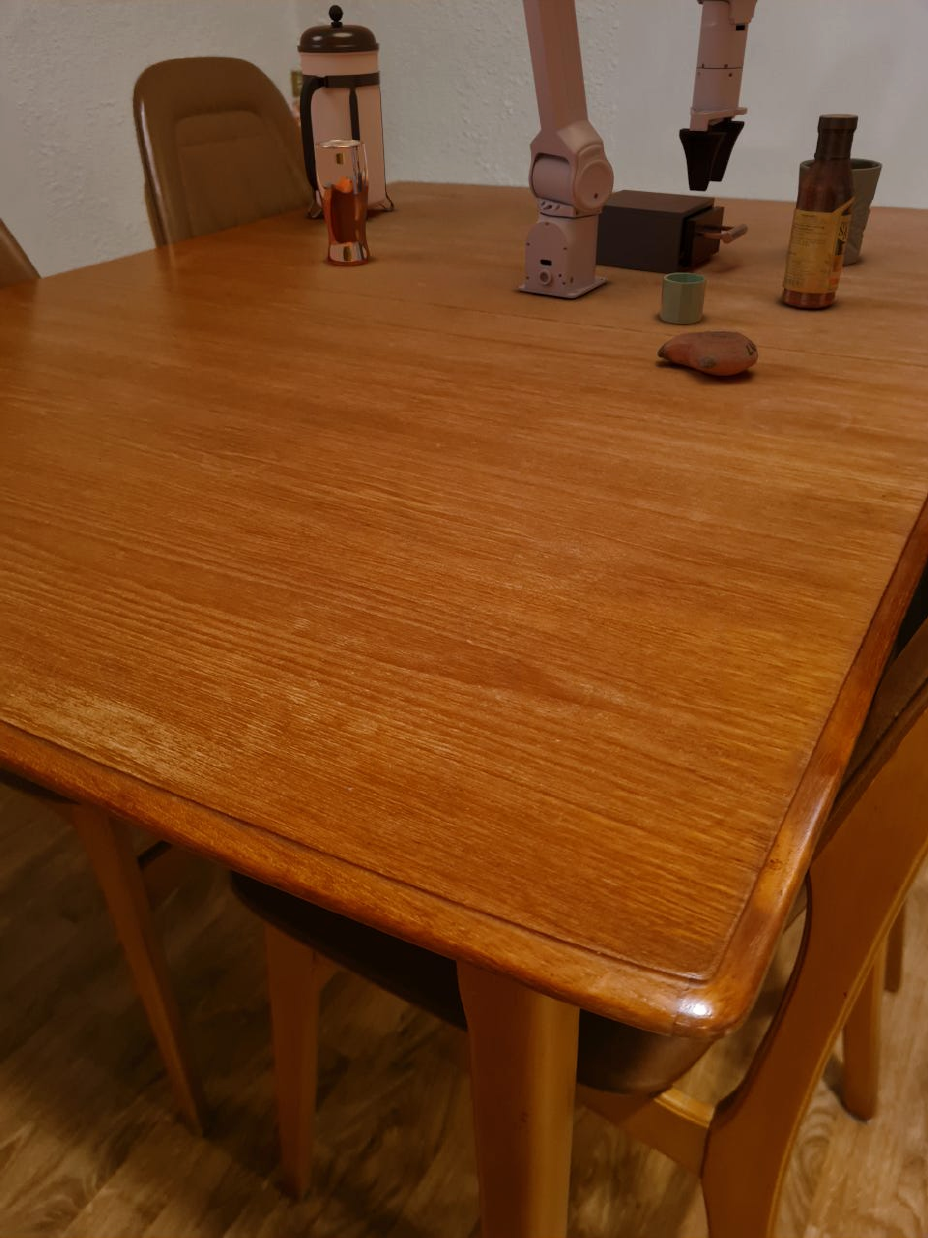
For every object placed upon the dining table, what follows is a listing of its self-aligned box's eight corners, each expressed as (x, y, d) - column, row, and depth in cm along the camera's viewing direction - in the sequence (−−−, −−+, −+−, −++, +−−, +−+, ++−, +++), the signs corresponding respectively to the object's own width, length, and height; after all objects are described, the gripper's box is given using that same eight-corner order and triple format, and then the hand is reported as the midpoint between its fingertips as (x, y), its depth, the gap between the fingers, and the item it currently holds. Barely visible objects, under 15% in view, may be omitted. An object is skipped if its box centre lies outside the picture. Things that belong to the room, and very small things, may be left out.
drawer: (749, 255, 130) (755, 209, 127) (722, 271, 123) (728, 223, 120) (635, 241, 138) (639, 198, 134) (603, 256, 130) (606, 211, 127)
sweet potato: (717, 359, 100) (649, 370, 97) (719, 319, 98) (650, 329, 95) (770, 375, 92) (698, 387, 90) (773, 332, 90) (700, 343, 88)
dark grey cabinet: (708, 255, 134) (715, 197, 129) (675, 274, 126) (682, 212, 121) (619, 245, 140) (623, 189, 136) (583, 262, 132) (586, 202, 128)
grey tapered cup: (878, 262, 129) (899, 165, 122) (817, 270, 126) (835, 171, 119) (828, 247, 137) (845, 154, 130) (769, 254, 134) (784, 160, 127)
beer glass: (377, 254, 137) (370, 139, 129) (368, 266, 132) (360, 146, 123) (330, 254, 138) (319, 139, 130) (319, 266, 132) (308, 146, 124)
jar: (691, 326, 107) (696, 285, 104) (653, 320, 109) (657, 279, 106) (707, 316, 110) (712, 275, 107) (669, 310, 112) (673, 270, 109)
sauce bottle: (837, 311, 110) (875, 118, 99) (781, 309, 111) (813, 118, 100) (831, 296, 116) (866, 111, 105) (777, 294, 117) (807, 111, 106)
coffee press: (294, 209, 166) (272, 5, 150) (383, 202, 170) (371, 2, 154) (311, 229, 153) (289, 6, 136) (408, 221, 156) (398, 3, 140)
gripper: (737, 72, 112) (721, 197, 119) (765, 63, 122) (749, 178, 130) (678, 70, 114) (666, 193, 122) (711, 62, 125) (698, 175, 133)
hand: (706, 185), depth 126 cm, fingers open, 7 cm apart
